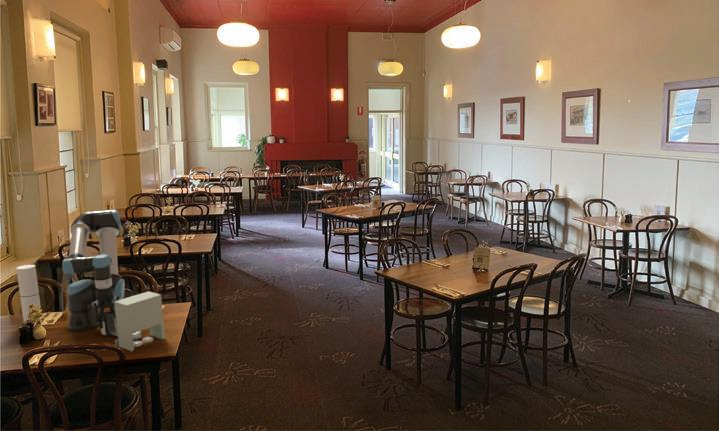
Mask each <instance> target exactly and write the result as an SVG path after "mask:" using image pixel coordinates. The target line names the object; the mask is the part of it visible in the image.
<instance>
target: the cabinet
mask: <svg viewBox="0 0 719 431" xmlns="http://www.w3.org/2000/svg"><path fill="white" fill-rule="evenodd" d="M114 305H115V307H114V310H115V314H116V323H117V324H116V330H117V332H118V336H117V339H118V341H119V346H118V347H119V348H121V349H124V350H126V349H127V351H129V350H130V351H129V352H133V350H134V351H135V347H134V343H133V342H134V341H133V333H136V332H139V331H140V332H142V331H143V330H144V331H145V330H147V329H148V330H149V336H150V337H153V338H156V339H159V340H165V339H166V333H165V332H166V331H165V322H164V314H163V312H164V311H163V303H162V294H160V293H156V292H152V291H149V290H148V291H145V292H142V293H138V294H135V295H131V296H129V297H125V298H123V299H121V300H118V301H114V303H113V306H114Z"/></svg>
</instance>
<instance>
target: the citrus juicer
mask: <svg viewBox="0 0 719 431" xmlns="http://www.w3.org/2000/svg"><path fill="white" fill-rule="evenodd" d="M61 269H62V273H63V274H62V280H61V290H60V291H61V293H60V294H61V298H60V299H61V301H60V302H61V314H64V315H65V313H64V285H65V280H66V282H67V287H68V286H69V285H70V284H71V283H72V282H71V281H72V279H73V280H74V282H77V281H78V279H77V276H76V275H75V274H76V273H75V274H65V273H64V272H63V267H62V268H61Z"/></svg>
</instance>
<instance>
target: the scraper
mask: <svg viewBox="0 0 719 431" xmlns="http://www.w3.org/2000/svg"><path fill="white" fill-rule="evenodd" d="M103 321H104V322H105V330H106V335H104V334H102V335H103V336H105V337H108V338H109V337H112V336H116V337H118V332H117V331H116V330H117V329H116V330H115V321H114V313H112V312H110V310H109V311H104V316H103ZM139 339H143V338H142V331H139V332H136V333H133V342H135V341H138V340H139ZM115 345H116V346H117V347H119V341H118V338H117V339H114V346H115ZM116 346H115V347H116Z"/></svg>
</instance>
